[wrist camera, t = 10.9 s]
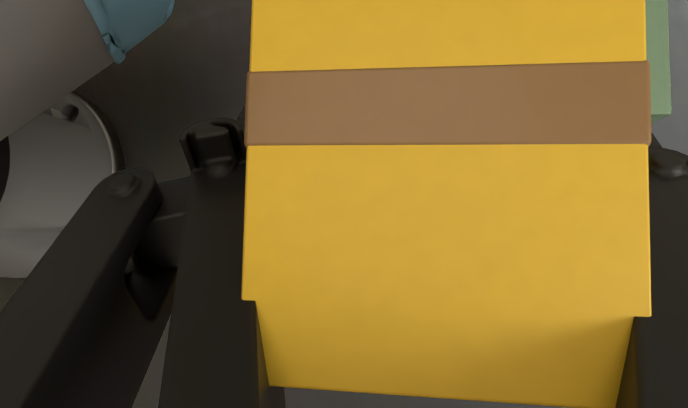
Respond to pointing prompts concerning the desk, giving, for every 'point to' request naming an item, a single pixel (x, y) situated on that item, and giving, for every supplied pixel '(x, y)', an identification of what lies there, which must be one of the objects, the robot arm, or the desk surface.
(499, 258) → the package
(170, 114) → the desk surface
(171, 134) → the desk surface
